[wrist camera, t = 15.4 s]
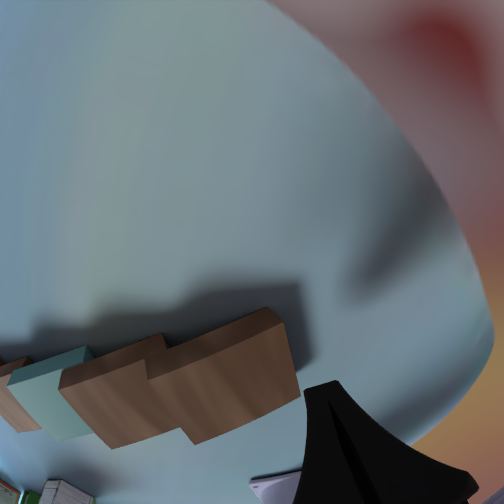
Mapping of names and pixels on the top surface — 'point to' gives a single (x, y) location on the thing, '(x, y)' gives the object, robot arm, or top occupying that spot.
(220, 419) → the tile
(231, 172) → the top surface
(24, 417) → the tile
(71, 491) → the syrup box
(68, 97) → the top surface
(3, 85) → the top surface
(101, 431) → the tile
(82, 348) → the teal tile
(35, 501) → the hardback book
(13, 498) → the cracker box
